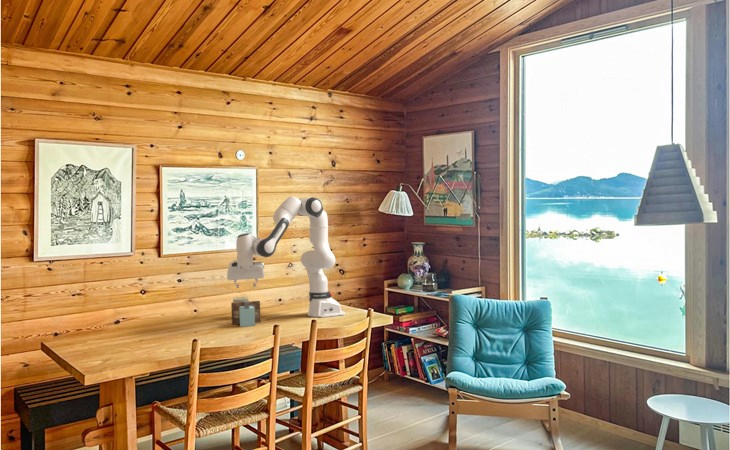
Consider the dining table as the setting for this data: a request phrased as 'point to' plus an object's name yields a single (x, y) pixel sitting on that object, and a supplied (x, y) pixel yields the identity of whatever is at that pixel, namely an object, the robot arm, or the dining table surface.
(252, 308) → the blue square bottle
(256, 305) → the wall board
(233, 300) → the can
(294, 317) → the dining table surface
